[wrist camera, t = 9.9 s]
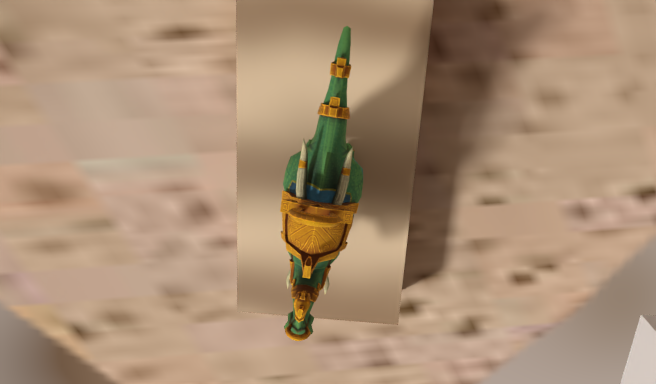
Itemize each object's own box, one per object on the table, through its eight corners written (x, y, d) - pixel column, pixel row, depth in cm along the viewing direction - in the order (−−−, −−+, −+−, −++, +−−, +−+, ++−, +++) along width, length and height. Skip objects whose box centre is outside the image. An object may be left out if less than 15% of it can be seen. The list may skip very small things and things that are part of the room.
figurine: (277, 274, 26) (241, 387, 18) (313, 16, 22) (286, 19, 14) (340, 285, 26) (330, 403, 18) (388, 28, 22) (401, 38, 14)
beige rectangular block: (251, -31, 24) (236, -36, 21) (428, -21, 24) (436, -26, 21) (249, 282, 29) (237, 311, 26) (394, 293, 29) (397, 324, 26)
